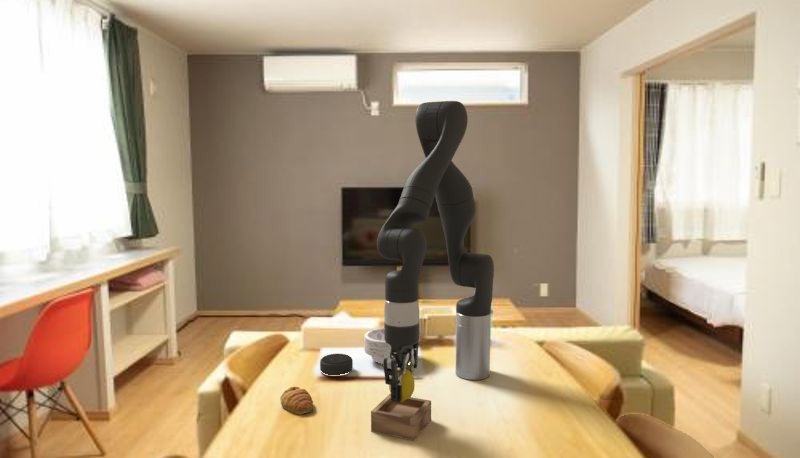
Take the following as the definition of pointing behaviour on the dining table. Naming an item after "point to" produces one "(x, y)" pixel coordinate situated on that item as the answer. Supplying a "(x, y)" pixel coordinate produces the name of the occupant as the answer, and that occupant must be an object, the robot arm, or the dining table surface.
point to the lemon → (406, 385)
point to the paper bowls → (376, 345)
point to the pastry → (297, 400)
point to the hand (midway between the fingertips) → (401, 395)
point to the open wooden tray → (401, 417)
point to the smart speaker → (336, 364)
